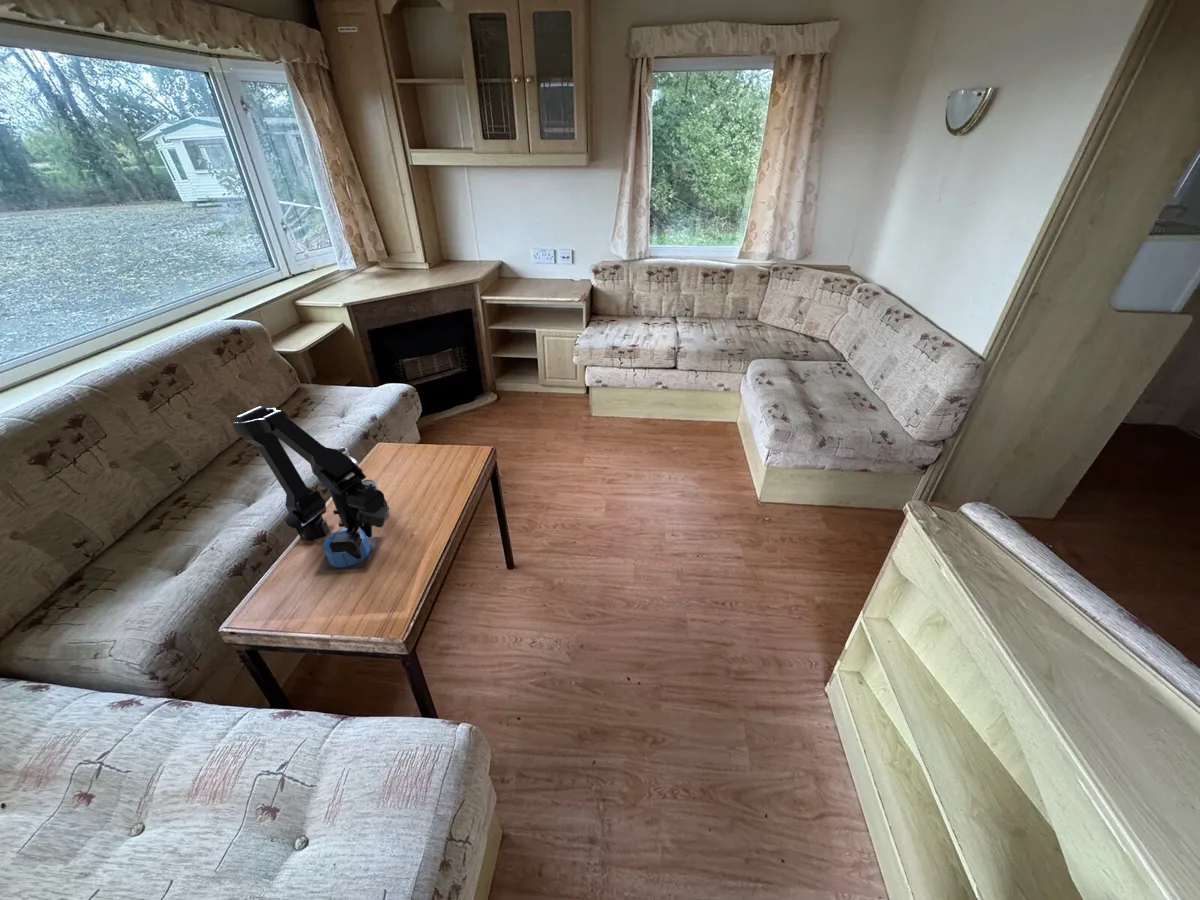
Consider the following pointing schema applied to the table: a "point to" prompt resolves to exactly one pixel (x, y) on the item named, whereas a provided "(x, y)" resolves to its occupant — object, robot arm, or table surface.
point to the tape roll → (343, 557)
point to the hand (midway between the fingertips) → (364, 547)
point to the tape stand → (360, 565)
